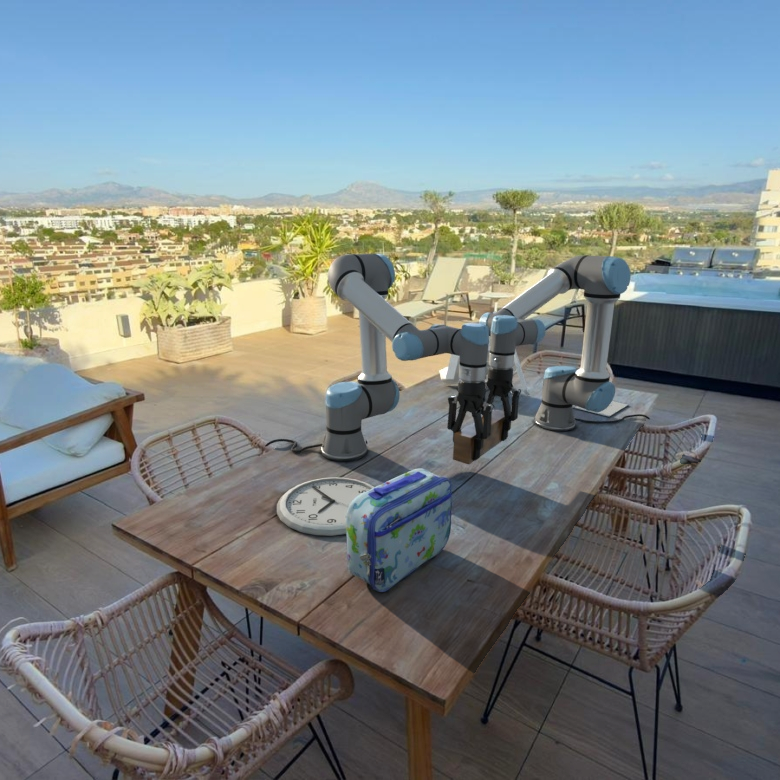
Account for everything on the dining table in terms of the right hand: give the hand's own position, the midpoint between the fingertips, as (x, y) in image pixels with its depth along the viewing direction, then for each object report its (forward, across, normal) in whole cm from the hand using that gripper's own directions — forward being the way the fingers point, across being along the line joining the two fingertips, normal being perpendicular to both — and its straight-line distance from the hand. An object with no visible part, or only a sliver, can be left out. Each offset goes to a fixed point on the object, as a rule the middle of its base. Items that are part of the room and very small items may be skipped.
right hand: (495, 437), depth 167 cm
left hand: (0, 0, -19) cm, 19 cm away
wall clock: (+9, -23, -52) cm, 57 cm away
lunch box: (+9, +7, -62) cm, 63 cm away
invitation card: (+10, +11, +82) cm, 84 cm away
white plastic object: (+10, -40, +67) cm, 78 cm away
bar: (0, 0, -9) cm, 9 cm away
